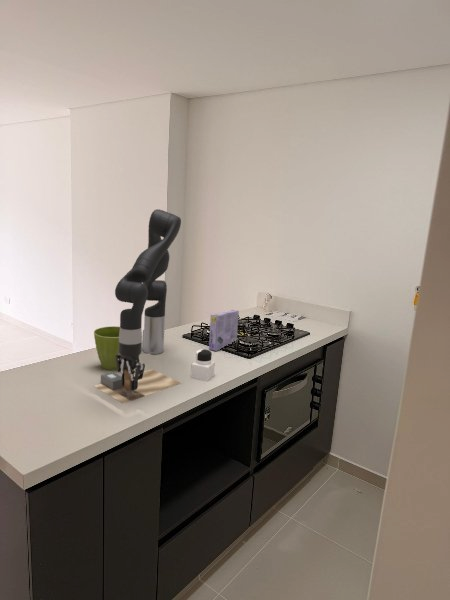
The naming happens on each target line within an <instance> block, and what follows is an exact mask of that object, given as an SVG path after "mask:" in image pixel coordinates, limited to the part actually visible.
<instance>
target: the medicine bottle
mask: <svg viewBox="0 0 450 600" xmlns="http://www.w3.org/2000/svg"><path fill="white" fill-rule="evenodd" d="M212 355H213V354H212V350H211V351H210V349H209V350H208V349H206V348H205V349H204V348H203V349H202V348H201V349H198V350H196V352H195V361H193V362H192V364H191V369H190V370H191V371H190V378H191V379H196V380H201V381H205V382H208V381H210V380H211V378H213V376H214V375H215V364H216V363H215V361H213V360H212V357H213V356H212Z"/></svg>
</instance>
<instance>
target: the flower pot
mask: <svg viewBox="0 0 450 600" xmlns="http://www.w3.org/2000/svg"><path fill="white" fill-rule="evenodd" d="M119 331H120V326H104V327H99V328H96V329H95V330H94V331H93V336H94V343H95V347H96V351H97V355H98V356H97V357H98V360H99V362H100V364H101V365H100V366H101V368H102V369H104V370H109V371H115V370H116V371H118V370H117V363H116V355H118V354H119ZM120 368H121V364H120Z"/></svg>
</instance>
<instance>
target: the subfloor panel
mask: <svg viewBox="0 0 450 600" xmlns="http://www.w3.org/2000/svg"><path fill="white" fill-rule="evenodd" d="M139 375H140V374H139ZM134 376H135V373H134ZM181 384H182V383H181V382H180V381H179V380H176V379H174V378H172V377H170V376H167V375H165V374H163V373H161V372H158V371H157V370H154V369H153V368H151V369H147V370H144V373H143V377H142V379H139V380H138V388H137V389H136V390H134V391H132V393H134V394H131V395H129V396H127V394H124V393H126V389H125V388H124V387H121V388H118V389H115V390H112V389H110V388H109V387H107V386H105V385H104V384H102V383H99V384H95V385H93V387H94V388H96V389H97V390H99V391H101V392H103V393H105V394H106V395H108V396H110V397H111V398H113V399H115V400H116V401H118V402H120V403H121V404H126V403H128V402H131V401H135V400H137V399H140V398H143V397H146V396H149V395H151V394H155V393H158V392H160V391H163V390H167V389H169V388H172V387H175V386H178V385H181Z"/></svg>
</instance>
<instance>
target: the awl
mask: <svg viewBox="0 0 450 600" xmlns="http://www.w3.org/2000/svg"><path fill="white" fill-rule="evenodd" d="M134 370H135V369H133V370H132V371H134ZM124 388H125V389H126V392H125V395H126V396H127V395H129V396H131V395H133V392H132V390H131V375H130V374H129V371H128V369H125V370H124Z"/></svg>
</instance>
